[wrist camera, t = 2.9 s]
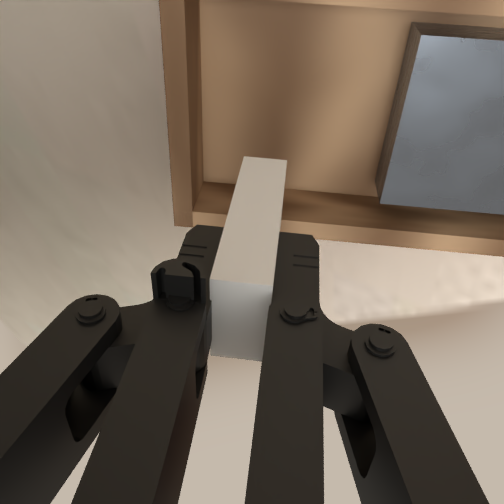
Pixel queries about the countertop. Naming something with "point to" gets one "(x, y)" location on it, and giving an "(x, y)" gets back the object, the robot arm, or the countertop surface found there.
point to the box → (304, 113)
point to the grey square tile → (447, 122)
